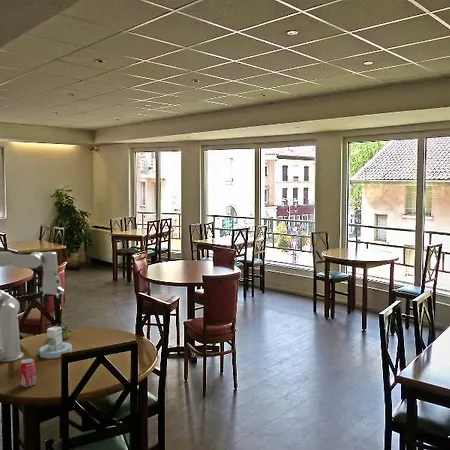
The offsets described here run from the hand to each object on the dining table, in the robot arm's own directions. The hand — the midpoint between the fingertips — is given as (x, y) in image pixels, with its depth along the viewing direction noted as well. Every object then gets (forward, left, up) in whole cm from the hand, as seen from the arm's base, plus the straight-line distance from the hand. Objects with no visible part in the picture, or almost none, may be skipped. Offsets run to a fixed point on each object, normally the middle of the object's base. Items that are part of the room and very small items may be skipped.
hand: (52, 303), depth 268 cm
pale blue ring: (0, 0, -28) cm, 28 cm away
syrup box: (0, 0, -28) cm, 29 cm away
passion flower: (+22, +15, -29) cm, 39 cm away
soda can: (-37, -19, -28) cm, 51 cm away
